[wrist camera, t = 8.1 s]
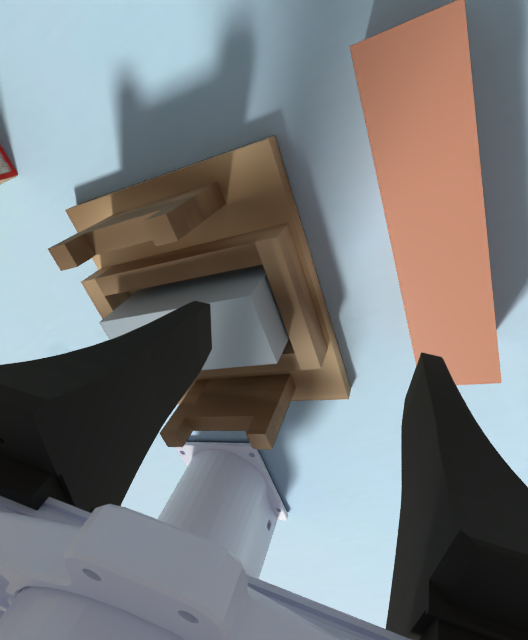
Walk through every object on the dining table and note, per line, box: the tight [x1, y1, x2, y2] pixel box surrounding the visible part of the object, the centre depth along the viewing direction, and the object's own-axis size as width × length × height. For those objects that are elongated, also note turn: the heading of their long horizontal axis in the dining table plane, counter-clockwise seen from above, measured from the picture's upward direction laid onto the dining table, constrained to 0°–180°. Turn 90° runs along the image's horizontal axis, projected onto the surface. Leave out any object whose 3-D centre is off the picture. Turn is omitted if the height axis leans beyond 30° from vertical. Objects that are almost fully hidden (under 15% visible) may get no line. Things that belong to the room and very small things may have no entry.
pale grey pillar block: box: [99, 264, 289, 370], centre depth 24 cm, size 4×10×4 cm, turn 111°
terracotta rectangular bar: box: [350, 0, 501, 385], centre depth 18 cm, size 15×4×4 cm, turn 21°
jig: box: [48, 135, 351, 450], centre depth 24 cm, size 16×14×6 cm
